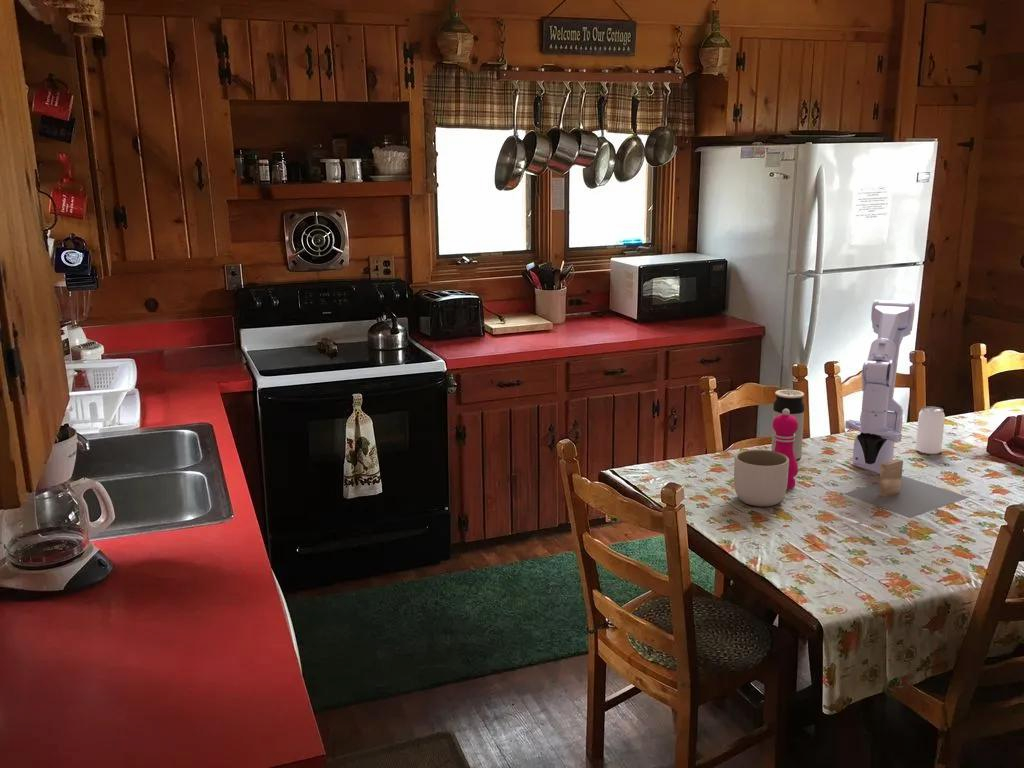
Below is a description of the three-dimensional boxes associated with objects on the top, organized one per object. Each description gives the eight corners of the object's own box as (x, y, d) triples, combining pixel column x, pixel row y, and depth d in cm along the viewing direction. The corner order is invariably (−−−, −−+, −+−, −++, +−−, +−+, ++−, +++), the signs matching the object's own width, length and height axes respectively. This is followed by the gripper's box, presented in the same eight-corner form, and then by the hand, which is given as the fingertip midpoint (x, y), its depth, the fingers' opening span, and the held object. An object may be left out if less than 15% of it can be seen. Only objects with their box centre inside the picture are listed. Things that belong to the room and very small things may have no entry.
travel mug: (776, 449, 248) (780, 387, 244) (805, 454, 244) (809, 391, 239) (766, 457, 242) (769, 394, 237) (795, 462, 237) (799, 398, 233)
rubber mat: (843, 495, 214) (843, 493, 214) (901, 477, 225) (901, 475, 225) (910, 519, 199) (910, 517, 199) (968, 499, 210) (968, 497, 210)
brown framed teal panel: (877, 494, 213) (880, 463, 211) (894, 489, 215) (896, 458, 214) (884, 496, 211) (887, 465, 209) (900, 491, 214) (903, 460, 212)
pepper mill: (781, 492, 217) (785, 414, 212) (760, 483, 223) (764, 407, 218) (803, 487, 220) (808, 410, 215) (782, 478, 226) (786, 403, 221)
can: (945, 454, 241) (949, 412, 238) (921, 454, 241) (925, 412, 238) (934, 447, 247) (938, 405, 244) (911, 447, 247) (915, 406, 244)
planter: (771, 515, 203) (773, 470, 201) (723, 502, 212) (724, 458, 209) (795, 499, 212) (798, 456, 210) (748, 487, 220) (750, 445, 218)
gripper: (838, 405, 217) (834, 458, 221) (889, 419, 205) (885, 474, 209) (857, 401, 221) (853, 452, 224) (909, 414, 209) (904, 468, 212)
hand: (870, 463), depth 217 cm, fingers closed
